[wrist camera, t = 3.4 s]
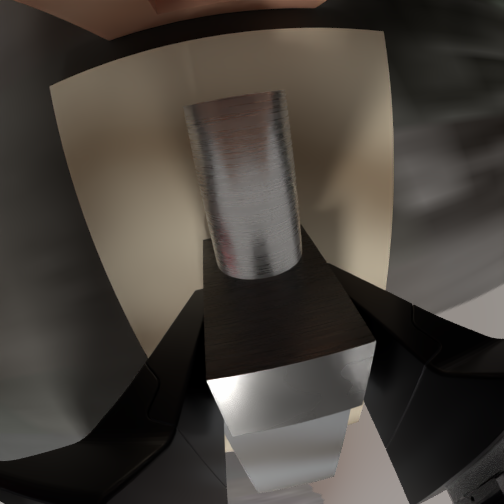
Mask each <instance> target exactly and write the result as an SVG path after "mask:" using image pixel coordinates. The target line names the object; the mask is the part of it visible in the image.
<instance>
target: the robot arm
mask: <svg viewBox="0 0 504 504" xmlns="http://www.w3.org/2000/svg"><path fill="white" fill-rule="evenodd" d="M328 265H329V266H330V268H331V270H332V271H333V273H334V274H335V276H336V277H337V279H338V280H339V282H340V283H341V285H342V287H343V288H344V290H345V291H346V293H347V294H348V296H349V298H350V299H351V301H352V302H353V304H354V305H355V307H356V309H357V310H358V312H359V314H360V315H361V317H362V318H363V320H364V322H365V323H366V325H367V327H368V328H369V330H370V331H371V333H372V335H373V336H374V338H375V340H376V345H375V350H374V355H373V360H372V365H371V370H370V374H369V379H368V383H367V387H366V392H365V396H364V402H365V405H366V407H367V409H368V411H369V413H370V415H371V418H372V420H373V422H374V424H375V426H376V428H377V430H378V433H379V435H380V437H381V439H382V441H383V444H384V446H385V448H386V451H387V453H388V455H389V457H390V460H391V462H392V464H393V467H394V468H395V471H396V473H397V476H398V478H399V480H400V483H401V485H402V487H403V489H404V492H405V494H406V497H407V499H408V501H409V503H410V504H420V503H422V502H424V501H426V500H428V499H430V498H432V497H434V496H436V495H438V494H439V493H441V492H443V491H444V490H447V491H448V494H449V496H450V498H451V500H452V502H453V504H504V339H496V338H491V337H488V336H485V335H483V334H480V333H478V332H475V331H473V330H470V329H467V328H465V327H462V326H460V325H457V324H455V323H453V322H450V321H448V320H445V319H443V318H441V317H438V316H436V315H434V314H432V313H430V312H428V311H426V310H424V309H422V308H420V307H418V306H416V305H413V306H412V303H410V302H408V301H406V300H404V299H402V298H400V297H398V296H396V295H394V294H392V293H390V292H388V291H385V290H383V289H381V288H379V287H377V286H375V285H373V284H371V283H369V282H367V281H365V280H363V279H361V278H359V277H357V276H355V275H353V274H351V273H349V272H347V271H345V270H343V269H340V268H338V267H336V266H334V265H332V264H330V263H328ZM226 488H227V483H226V461H225V435H224V418H223V416H222V414H221V412H220V409H219V407H218V405H217V403H216V401H215V399H214V396H213V394H212V392H211V390H210V387H209V385H208V383H207V380H206V360H205V335H204V299H203V289H198V290H195V291H194V293H193V294H192V296H191V297H190V298H189V300H188V301H187V303H186V304H185V306H184V307H183V308H182V310H181V311H180V313H179V314H178V316H177V317H176V319H175V320H174V322H173V323H172V324H171V326H170V327H169V329H168V330H167V332H166V333H165V335H164V336H163V338H162V339H161V341H160V342H159V343H158V345H157V346H156V348H155V349H154V351H153V352H152V354H151V355H150V357H149V358H148V360H147V361H146V364H144V365H143V367H142V368H141V370H140V371H139V373H138V374H137V376H136V377H135V379H134V380H133V381H132V383H131V384H130V386H129V387H128V388H127V389H126V391H125V392H124V393H123V394H122V396H121V397H120V398H119V399H118V401H117V402H116V403H115V404H114V405H113V407H112V408H111V409H110V410H109V411H108V413H107V414H106V415H105V416H104V417H103V419H102V420H101V421H100V422H99V423H98V425H97V426H96V427H95V428H94V429H93V430H92V431H91V432H90V434H88V435H87V436H86V437H85V438H84V439H82V440H81V441H79V442H77V443H75V444H72V445H69V446H65V447H62V448H59V449H55V450H52V451H48V452H45V453H41V454H37V455H34V456H30V457H26V458H22V459H17V460H11V461H0V501H1V502H3V503H4V504H228V501H227V489H226Z"/></svg>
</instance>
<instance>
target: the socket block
mask: <svg viewBox="0 0 504 504" xmlns="http://www.w3.org/2000/svg"><path fill="white" fill-rule="evenodd" d="M14 1H17V2H20V3H22V4H25V5H28V6H31V7H33V8H36V9H39V10H41V11H44V12H46V13H49V14H51V15H54V16H56V17H58V18H61V19H63V20H65V21H68V22H70V23H72V24H74V25H77V26H79V27H81V28H83V29H85V30H88V31H90V32H92V33H94V34H96V35H98V36H100V37H102V38H104V39H106V40H108V41H110V40H113V39H116V38H119V37H122V36H125V35H128V34H132V33H135V32H139V31H142V30H146V29H149V28H153V27H157V26H161V25H165V24H169V23H174V22H178V21H183V20H188V19H193V18H198V17H204V16H210V15H217V14H224V13H232V12H240V11H250V10H263V9H281V8H316V7H318V6H319V5H321V4H322V3H324V2H325V1H327V0H14Z"/></svg>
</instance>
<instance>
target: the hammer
mask: <svg viewBox="0 0 504 504" xmlns="http://www.w3.org/2000/svg"><path fill="white" fill-rule="evenodd" d="M183 109H184V114H185V119H186V124H187V129H188V134H189V139H190V144H191V149H192V154H193V159H194V163H195V168H196V173H197V177H198V182H199V187H200V191H201V196H202V200H203V205H204V209H205V214H206V218H207V223H208V227H209V231H210V236H211V238H209V239H204V240H203V299H204V335H205V360H206V380H207V383H208V385H209V387H210V390H211V392H212V394H213V396H214V399H215V401H216V403H217V405H218V407H219V409H220V412H221V414H222V416H223V418H224V420H225V422H226V424H227V426H228V428H229V430H230V432H231V434H232V436H238V435H244V434H250V433H256V432H261V431H266V430H271V429H276V428H281V427H285V426H290V425H294V424H298V423H302V422H306V421H310V420H314V419H318V418H322V417H325V416H329V415H332V414H336V413H339V412H342V411H346V410H349V409H352V408H355V407H358V406H361V405H362V404H363V400H364V396H365V392H366V387H367V383H368V379H369V374H370V370H371V365H372V360H373V355H374V350H375V345H376V340H375V338H374V336H373V335H372V333H371V331H370V330H369V328H368V327H367V325H366V323H365V322H364V320H363V318H362V317H361V315H360V314H359V312H358V310H357V309H356V307H355V305H354V304H353V302H352V301H351V299H350V298H349V296H348V294H347V293H346V291H345V290H344V288H343V287H342V285H341V283H340V282H339V280H338V279H337V277H336V276H335V274H334V273H333V271H332V270H331V268H330V266H329V265H328V263H327V262H326V260H325V259H324V257H323V256H322V254H321V253H320V251H319V250H318V248H317V247H316V245H315V244H314V242H313V241H312V239H311V238H310V236H309V235H308V234H307V232H306V231H305V229H304V228H303V226H302V225H301V223H300V217H299V205H298V195H297V185H296V175H295V165H294V156H293V148H292V139H291V131H290V123H289V115H288V107H287V100H286V93H285V90H275V91H266V92H257V93H250V94H242V95H236V96H230V97H224V98H218V99H213V100H208V101H203V102H198V103H194V104H189V105H185V106H183Z"/></svg>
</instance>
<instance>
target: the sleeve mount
mask: <svg viewBox="0 0 504 504" xmlns="http://www.w3.org/2000/svg"><path fill="white" fill-rule="evenodd" d="M49 87H50V92H51V97H52V103H53V107H54V112H55V117H56V121H57V126H58V130H59V134H60V138H61V142H62V146H63V150H64V154H65V157H66V161H67V164H68V168H69V171H70V175H71V178H72V181H73V185H74V188H75V191H76V194H77V197H78V200H79V203H80V206H81V209H82V212H83V215H84V218H85V220H86V223H87V226H88V229H89V231H90V234H91V237H92V239H93V242H94V244H95V247H96V249H97V252H98V254H99V257H100V259H101V262H102V264H103V266H104V269H105V271H106V274H107V276H108V278H109V280H110V283H111V285H112V287H113V289H114V292H115V294H116V296H117V298H118V300H119V302H120V305H121V307H122V309H123V311H124V313H125V315H126V317H127V319H128V321H129V323H130V325H131V327H132V329H133V331H134V333H135V335H136V337H137V339H138V341H139V342H140V344H141V346H142V348H143V350H144V352H145V354H146V355H147V357H148V358H149V357H150V355H151V354H152V352H153V351H154V349H155V348H156V346H157V345H158V343H159V342H160V341H161V339H162V338H163V336H164V335H165V333H166V332H167V330H168V329H169V327H170V326H171V324H172V323H173V322H174V320H175V319H176V317H177V316H178V314H179V313H180V311H181V310H182V308H183V307H184V306H185V304H186V303H187V301H188V300H189V298H190V297H191V296H192V294H193V293H194V291H195V290H198V289H203V240H204V239H209V238H211V236H210V231H209V227H208V223H207V218H206V214H205V209H204V205H203V200H202V196H201V191H200V187H199V182H198V177H197V173H196V168H195V163H194V159H193V154H192V149H191V144H190V139H189V134H188V129H187V124H186V119H185V114H184V109H183V106H185V105H189V104H194V103H198V102H203V101H208V100H213V99H218V98H224V97H230V96H236V95H242V94H250V93H257V92H266V91H275V90H285V93H286V100H287V107H288V115H289V123H290V131H291V139H292V148H293V156H294V165H295V175H296V185H297V195H298V205H299V217H300V223H301V225H302V226H303V228H304V229H305V231H306V232H307V234H308V235H309V236H310V238H311V239H312V241H313V242H314V244H315V245H316V247H317V248H318V250H319V251H320V253H321V254H322V256H323V257H324V259H325V260H326V262H327V263H330V264H332V265H334V266H336V267H338V268H340V269H343V270H345V271H347V272H349V273H351V274H353V275H355V276H357V277H359V278H361V279H363V280H365V281H367V282H369V283H371V284H373V285H375V286H377V287H379V288H381V289H383V290H386V282H387V273H388V264H389V254H390V243H391V230H392V213H393V186H394V142H393V116H392V100H391V88H390V77H389V68H388V59H387V51H386V44H385V37H384V32H383V31H373V30H361V29H345V28H287V29H270V30H258V31H248V32H239V33H231V34H224V35H218V36H211V37H206V38H200V39H195V40H190V41H185V42H180V43H176V44H171V45H167V46H163V47H159V48H155V49H151V50H147V51H144V52H140V53H137V54H133V55H130V56H127V57H124V58H121V59H117V60H114V61H111V62H109V63H106V64H103V65H100V66H97V67H95V68H92V69H89V70H87V71H84V72H82V73H79V74H77V75H74V76H72V77H69V78H67V79H65V80H62V81H60V82H58V83H56V84H54V85H51V86H49ZM363 403H364V400H363ZM362 407H363V404H362V405H361V406H358V407H355V408H352V409H349V410H346V411H342V412H339V413H336V414H332V415H329V416H325V417H322V418H318V419H314V420H310V421H306V422H302V423H298V424H294V425H290V426H285V427H281V428H276V429H271V430H266V431H261V432H256V433H250V434H244V435H238V436H232V434H231V432H230V430H229V428H228V426H227V424H226V422H225V420H224V435H225V452H232V451H234V452H235V454H236V456H237V458H238V459H239V461H240V463H241V465H242V466H243V468H244V470H245V472H246V473H247V475H248V477H249V478H250V480H251V482H252V483H253V485H254V487H255V488H256V490H257V492H258V493H265V492H270V491H276V490H281V489H286V488H291V487H295V486H299V485H304V484H308V483H312V482H316V481H319V480H323V479H327V478H330V477H334V475H335V471H336V467H337V464H338V460H339V456H340V453H341V449H342V445H343V441H344V437H345V432H346V428H347V425H350V424H353V423H356V422H358V421H359V418H360V414H361V410H362Z"/></svg>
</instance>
